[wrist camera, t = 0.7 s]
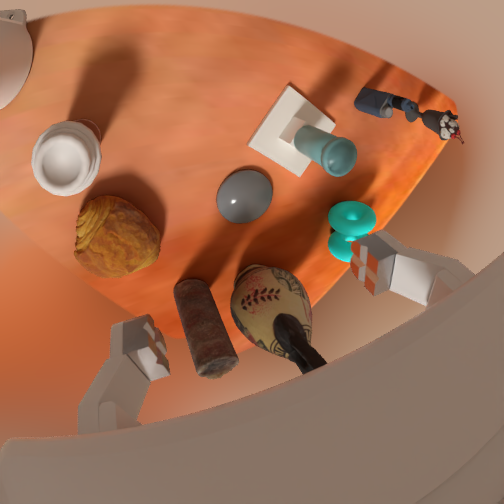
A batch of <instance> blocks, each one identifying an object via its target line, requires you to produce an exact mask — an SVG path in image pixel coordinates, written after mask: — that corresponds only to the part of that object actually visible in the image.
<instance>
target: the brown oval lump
mask: <svg viewBox="0 0 504 504" xmlns="http://www.w3.org/2000/svg"><path fill="white" fill-rule="evenodd" d="M76 232H77V238H76V240H77V241H76V243H75V246H76V249H77V251H76V250H75V251H74V255H75V257H76V259H77V260H78V262H79V263H80V264H81V265H82V266H83V267H84V268H85V269H86V270H88V271H89V272H91V273H93V274H95V275H97V276H99V277H102V278H121V277H122V276H124V275H128V274H131V273H133V272H135V271H137V270H140V269H142V268H144V267H147V266H149V265H151V264H152V263H154V262H155V261H156V260H157V259H158V256H159V252H160V243H161V241H160V232H159V231H158V229H157V228H156V227H155V226H154V225H153V224H152V223H151V222H150V220H149V219H148V217H147V216H146V215H145V214H144V213H143V212H142V211H141V210H138V209H136V208H135V206H134V205H132V204H131V203H130V202H128V201H126V200H124V199H122V198H120V197H116V196H111V195H108V196H107V195H105V196H99V197H96V198H95V199H94V200H90V201H88V202H87V204H86V206H85V207H84V208H83V209H82V210H81V212H80V214H79V215H78V220H77V226H76Z"/></svg>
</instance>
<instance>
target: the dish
mask: <svg viewBox="0 0 504 504" xmlns="http://www.w3.org/2000/svg"><path fill="white" fill-rule="evenodd" d="M271 200H272V186H271V184H270V182H269V180H268V179H267V178H266V177H265V176H264V175H263V174H261V173H260V172H258V171H255V170H248V169H246V170H240V171H237V172H235V173H233V174H231V175H230V176H228V177H227V178H226V179H225V180H224V181H223V182H222V184H221V185H220V187H219V189H218V192H217V197H216V202H217V207H218V209H219V211H220V213H221V214H222V216H223V217H224V218H226V219H227V220H229V221H231V222H234V223H248V222H251V221H253V220H255V219H257V218H258V217H260V216H261V215H262V214H263V213H264V212H265V211H266V210H267V208H268V207H269V205H270V203H271Z"/></svg>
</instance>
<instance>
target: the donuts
mask: <svg viewBox="0 0 504 504" xmlns="http://www.w3.org/2000/svg"><path fill="white" fill-rule="evenodd" d="M328 220H329V223H330V225H331V226H332V228H333V229H334V230H336V231H335V232H333V233H332V234H331V236H330V237H329V240H328V247H329V250H330V252H331V253H332V254H333V256H335V257H336V258H338V259H340V260H342V261H346V262H350V259H351V257H352V255H353V252H352V251H351V244H352V242H347V241H355V240H357V239H360V238H363V237H365V236H368V234H367V233H368V232H369V231H371V230H372V229H373V228H374V226H375V224H376V215H375V213H374V211H373V210H372V209H371V208H370V207H369V206H368V205H366V204H364V203H361V202H357V201H344V202H340V203H338V204H336V205H334V206H333V207H332V208H331V209H330V211H329V214H328Z"/></svg>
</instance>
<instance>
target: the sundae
mask: <svg viewBox="0 0 504 504" xmlns="http://www.w3.org/2000/svg"><path fill="white" fill-rule="evenodd" d="M412 104H413V105H414V109H413V110H411V111H410V112H405V114H406V118H407V120H408V121H409V122H414V121H415V120H416V119H417V117H420V118H422V121H423V123H424V125H425V126H426V127H428V128H429V129H431V130H433V131H434V132H436V133H437V134H438V135H439V137H440V139H441V140H448V139H450V138H453V139H455V138H457V137H456V135H460V130H459V126H458V123H457V122H456V121H455V120H457V119H458V115H453V114H452V113H451V111H450V110H447V111H446V112H439V111H435V110H426V111H425V112H424V113H420V112H419V108H418V105H417V104H416V103H415V102H412ZM460 137H461V136H460ZM458 139H459V138H458ZM461 139H462V138H461ZM463 143H464V141H463V142H462V144H463Z"/></svg>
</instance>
